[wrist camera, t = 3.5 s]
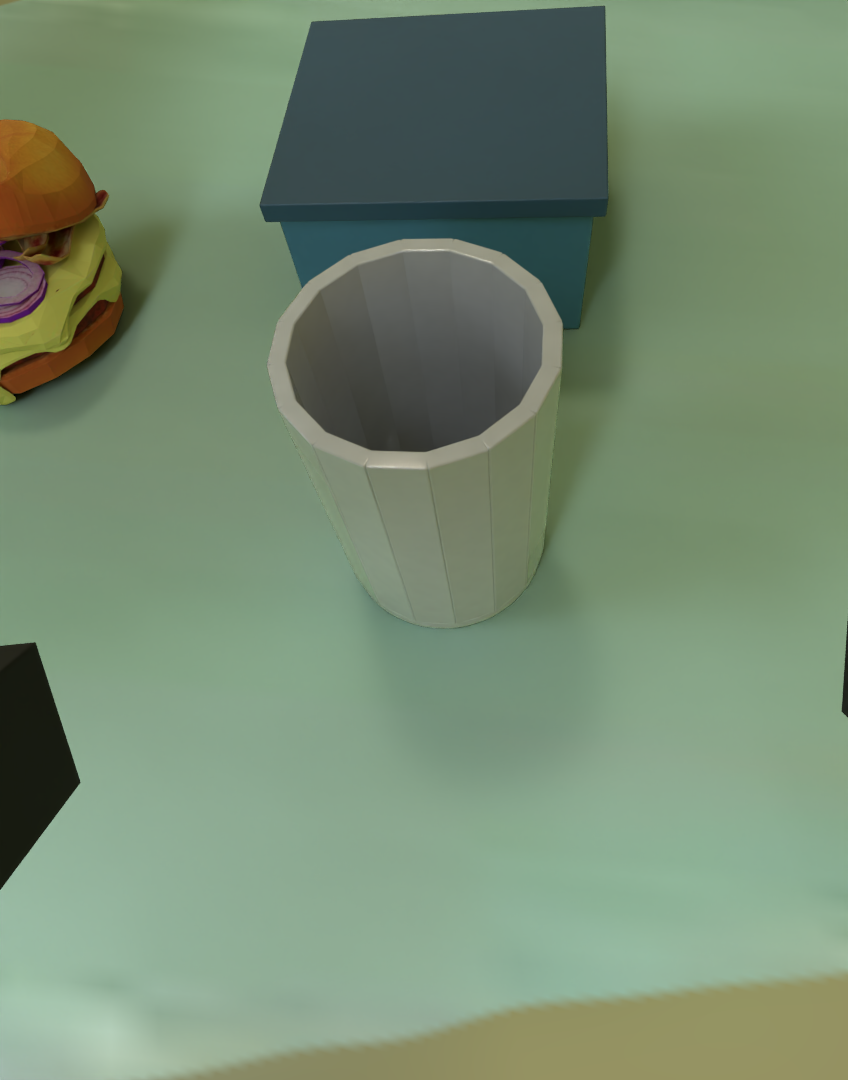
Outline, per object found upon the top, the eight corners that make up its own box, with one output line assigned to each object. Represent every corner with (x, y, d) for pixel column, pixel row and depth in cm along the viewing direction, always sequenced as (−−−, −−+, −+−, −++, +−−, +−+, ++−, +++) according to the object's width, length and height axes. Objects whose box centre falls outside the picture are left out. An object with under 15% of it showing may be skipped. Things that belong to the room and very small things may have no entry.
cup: (338, 622, 27) (241, 463, 17) (365, 454, 30) (296, 239, 20) (539, 635, 26) (560, 473, 16) (545, 459, 29) (565, 235, 19)
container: (305, 334, 33) (258, 204, 27) (342, 163, 38) (311, 21, 32) (588, 336, 32) (608, 198, 25) (588, 156, 37) (605, 4, 31)
